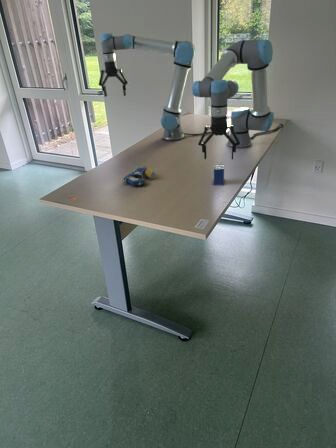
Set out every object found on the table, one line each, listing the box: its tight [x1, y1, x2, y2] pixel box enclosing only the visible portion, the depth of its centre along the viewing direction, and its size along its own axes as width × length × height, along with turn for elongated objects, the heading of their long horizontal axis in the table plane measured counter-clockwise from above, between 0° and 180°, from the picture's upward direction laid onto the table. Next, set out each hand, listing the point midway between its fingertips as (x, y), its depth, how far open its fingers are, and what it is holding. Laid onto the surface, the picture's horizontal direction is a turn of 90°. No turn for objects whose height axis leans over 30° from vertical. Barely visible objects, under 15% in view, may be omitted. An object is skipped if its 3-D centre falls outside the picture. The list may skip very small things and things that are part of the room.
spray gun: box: [122, 166, 157, 187], centre depth 186 cm, size 21×4×15 cm
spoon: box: [227, 117, 231, 134], centre depth 262 cm, size 35×11×2 cm, turn 159°
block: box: [213, 164, 225, 186], centre depth 174 cm, size 5×6×9 cm
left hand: (115, 96), depth 224 cm, fingers open, 13 cm apart
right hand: (218, 158), depth 169 cm, fingers open, 13 cm apart
